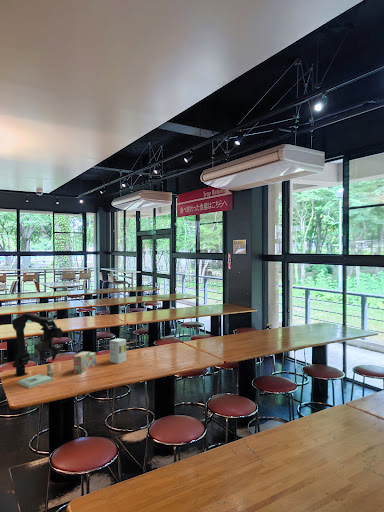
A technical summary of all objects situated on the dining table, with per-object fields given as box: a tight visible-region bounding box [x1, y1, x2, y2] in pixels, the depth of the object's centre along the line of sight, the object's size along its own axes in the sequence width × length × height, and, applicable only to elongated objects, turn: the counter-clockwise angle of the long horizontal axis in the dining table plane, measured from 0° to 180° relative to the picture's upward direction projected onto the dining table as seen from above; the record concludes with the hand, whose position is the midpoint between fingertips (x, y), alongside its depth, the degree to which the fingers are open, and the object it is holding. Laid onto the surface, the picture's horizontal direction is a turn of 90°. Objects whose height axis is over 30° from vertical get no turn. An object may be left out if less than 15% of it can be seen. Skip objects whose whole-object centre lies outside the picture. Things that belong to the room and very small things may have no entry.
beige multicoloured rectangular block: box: [73, 351, 97, 375], centre depth 253 cm, size 21×6×12 cm, turn 168°
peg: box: [46, 363, 55, 378], centre depth 238 cm, size 4×4×8 cm
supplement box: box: [109, 337, 127, 364], centre depth 271 cm, size 10×9×17 cm
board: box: [17, 373, 53, 389], centre depth 227 cm, size 14×16×2 cm
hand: (47, 360), depth 234 cm, fingers open, 9 cm apart
